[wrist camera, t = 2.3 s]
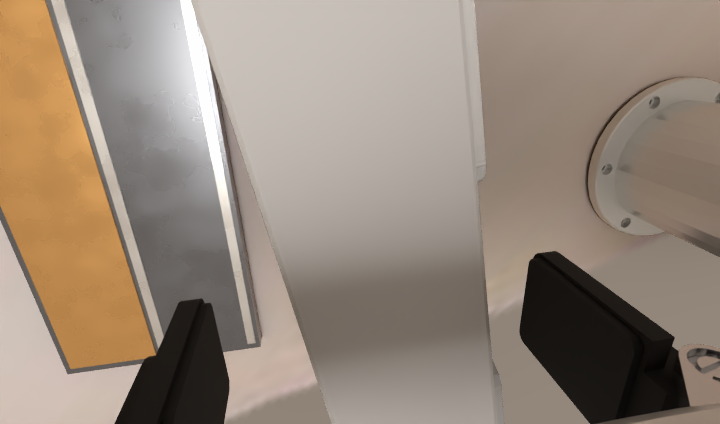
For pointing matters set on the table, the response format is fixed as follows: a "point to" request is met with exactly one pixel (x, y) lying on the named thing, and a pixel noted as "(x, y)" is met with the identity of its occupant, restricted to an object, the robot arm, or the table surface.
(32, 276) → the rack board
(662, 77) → the table surface
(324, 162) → the rounded white slab
